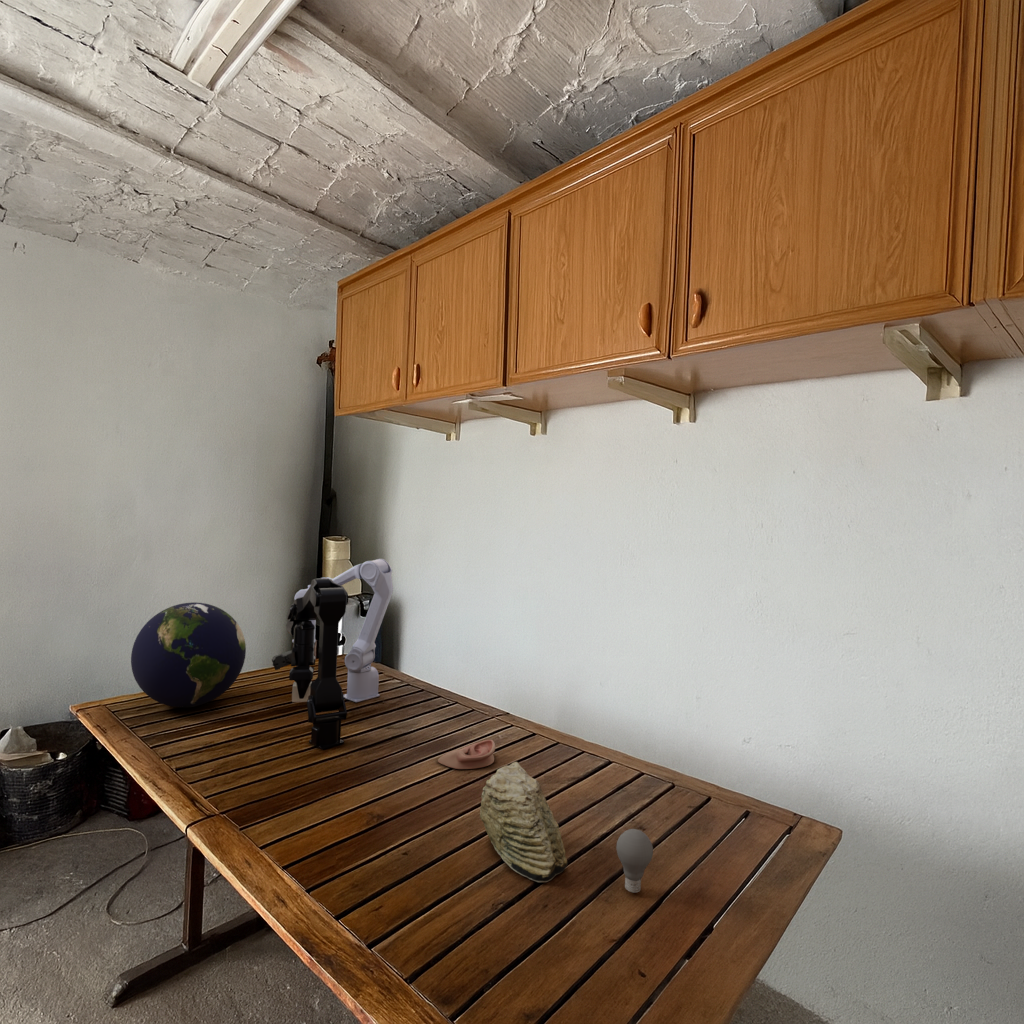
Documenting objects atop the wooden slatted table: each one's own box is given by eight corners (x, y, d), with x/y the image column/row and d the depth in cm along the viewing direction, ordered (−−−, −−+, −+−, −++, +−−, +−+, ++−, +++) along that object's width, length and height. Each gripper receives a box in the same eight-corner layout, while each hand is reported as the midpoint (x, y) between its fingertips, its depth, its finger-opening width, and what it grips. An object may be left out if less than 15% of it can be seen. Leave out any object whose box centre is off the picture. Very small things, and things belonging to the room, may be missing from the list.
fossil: (501, 827, 124) (504, 751, 124) (575, 868, 111) (578, 784, 111) (467, 843, 118) (470, 763, 118) (541, 889, 105) (545, 799, 105)
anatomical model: (434, 749, 151) (448, 732, 162) (433, 766, 151) (447, 748, 162) (488, 756, 148) (499, 738, 159) (487, 773, 148) (498, 754, 160)
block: (293, 697, 185) (293, 682, 185) (311, 697, 187) (311, 681, 187) (291, 702, 181) (292, 686, 181) (310, 701, 183) (310, 685, 182)
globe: (211, 683, 207) (214, 592, 206) (264, 704, 189) (267, 604, 189) (110, 705, 182) (113, 601, 182) (160, 731, 165) (164, 616, 164)
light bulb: (610, 879, 108) (613, 822, 108) (644, 879, 109) (647, 822, 109) (619, 902, 102) (622, 840, 102) (655, 901, 103) (658, 840, 103)
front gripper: (277, 636, 191) (275, 687, 191) (270, 650, 173) (268, 707, 173) (316, 635, 194) (314, 686, 194) (313, 650, 175) (311, 706, 176)
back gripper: (294, 621, 209) (293, 662, 210) (291, 630, 195) (289, 674, 196) (317, 621, 211) (315, 662, 212) (315, 630, 197) (313, 674, 197)
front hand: (301, 696), depth 184 cm, fingers closed on block, 4 cm apart
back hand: (304, 668), depth 204 cm, fingers open, 7 cm apart
